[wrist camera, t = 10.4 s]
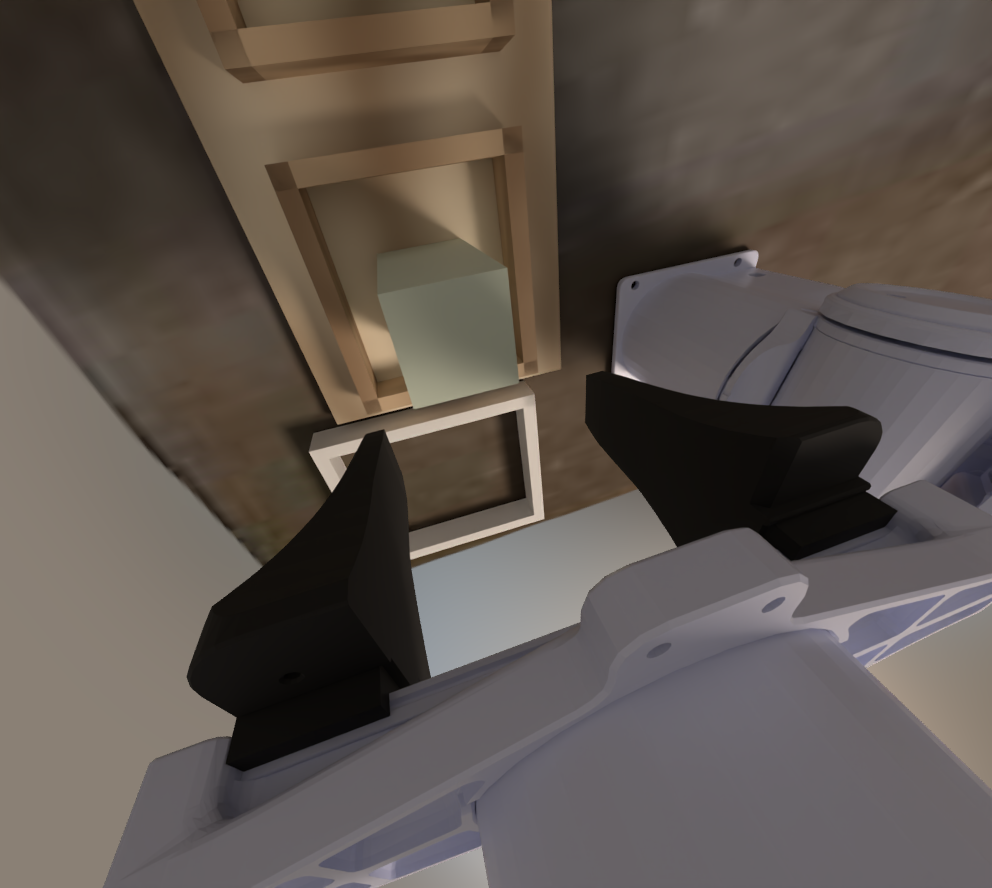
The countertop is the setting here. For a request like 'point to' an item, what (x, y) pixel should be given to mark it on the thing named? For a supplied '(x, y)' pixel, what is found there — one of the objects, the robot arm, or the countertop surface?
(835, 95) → the countertop surface
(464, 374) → the block
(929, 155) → the countertop surface
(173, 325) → the countertop surface
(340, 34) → the wooden divided tray
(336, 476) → the rectangular frame
